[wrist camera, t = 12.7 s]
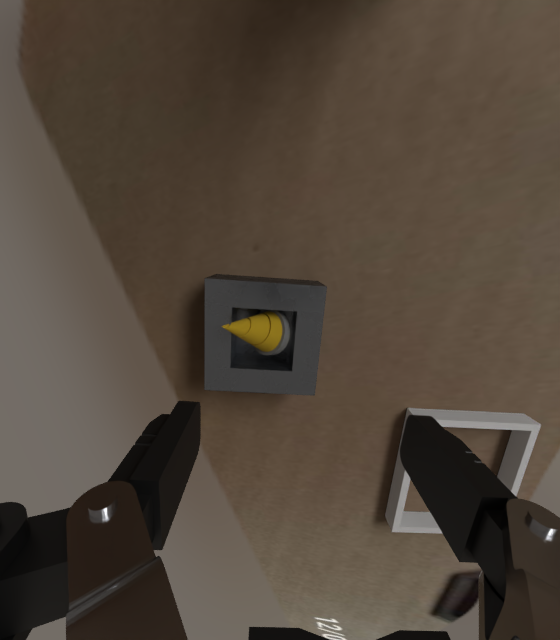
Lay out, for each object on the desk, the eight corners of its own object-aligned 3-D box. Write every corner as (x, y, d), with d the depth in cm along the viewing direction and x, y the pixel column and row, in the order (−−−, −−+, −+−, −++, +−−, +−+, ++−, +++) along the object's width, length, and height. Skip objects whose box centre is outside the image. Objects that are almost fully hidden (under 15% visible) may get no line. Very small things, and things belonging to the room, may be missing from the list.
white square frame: (407, 407, 37) (416, 418, 35) (524, 413, 38) (541, 424, 36) (384, 515, 42) (391, 531, 40) (489, 519, 43) (502, 535, 40)
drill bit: (272, 356, 34) (206, 356, 27) (270, 316, 35) (206, 304, 28) (306, 353, 31) (241, 352, 24) (303, 308, 32) (240, 293, 25)
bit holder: (215, 274, 32) (204, 278, 27) (318, 281, 33) (326, 286, 27) (214, 369, 35) (204, 390, 30) (308, 374, 36) (314, 395, 30)
